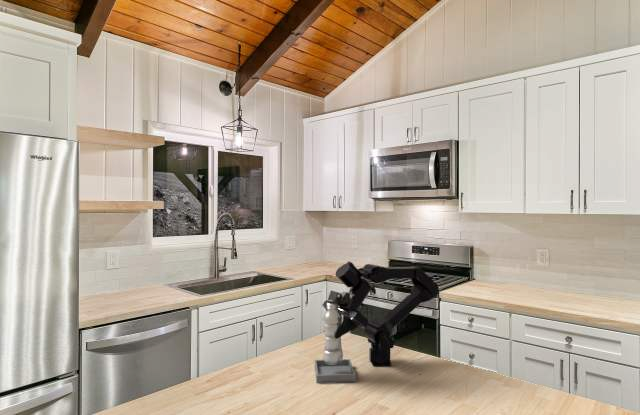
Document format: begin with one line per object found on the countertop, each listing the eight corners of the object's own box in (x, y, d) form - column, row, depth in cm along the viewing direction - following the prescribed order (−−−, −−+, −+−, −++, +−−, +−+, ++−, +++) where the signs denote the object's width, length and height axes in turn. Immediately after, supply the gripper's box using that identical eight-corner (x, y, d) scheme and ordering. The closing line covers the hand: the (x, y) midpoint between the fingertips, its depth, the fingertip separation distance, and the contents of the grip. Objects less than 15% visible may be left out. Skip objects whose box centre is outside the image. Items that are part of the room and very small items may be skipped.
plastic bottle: (346, 361, 134) (346, 301, 133) (337, 369, 128) (336, 306, 127) (329, 357, 137) (328, 298, 136) (319, 365, 131) (318, 303, 130)
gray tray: (350, 365, 140) (350, 359, 139) (355, 381, 127) (355, 374, 127) (314, 366, 139) (314, 360, 139) (316, 382, 127) (316, 375, 127)
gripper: (326, 276, 141) (299, 314, 136) (360, 286, 126) (331, 329, 120) (345, 295, 146) (319, 332, 140) (380, 307, 130) (353, 349, 125)
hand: (330, 335), depth 131 cm, fingers closed on plastic bottle, 6 cm apart
